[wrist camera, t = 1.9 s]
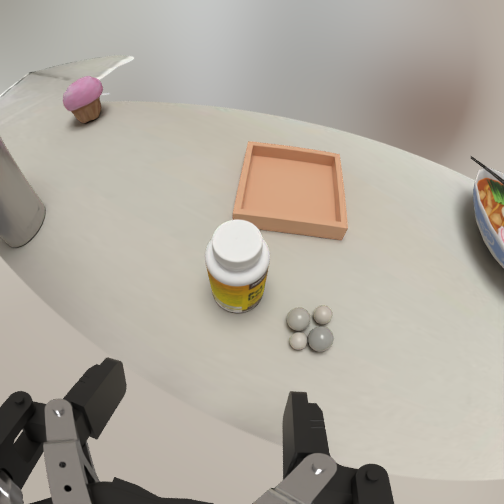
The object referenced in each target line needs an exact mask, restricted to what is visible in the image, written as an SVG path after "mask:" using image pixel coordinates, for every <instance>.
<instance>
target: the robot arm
mask: <svg viewBox="0 0 504 504" xmlns="http://www.w3.org/2000/svg"><path fill="white" fill-rule="evenodd" d="M44 216H45V206H44V204H43V203H42V201H41V200H40V199H39V197H38V196H37V194H36V193H35V191H34V190H33V188H32V187H31V185H30V184H29V182H28V181H27V179H26V178H25V176H24V175H23V173H22V172H21V170H20V169H19V167H18V166H17V164H16V162H15V161H14V159H13V158H12V156H11V154H10V153H9V151H8V149H7V148H6V146H5V144H4V142H3V141H2V139H1V137H0V237H1V238H2V239H3V240H4V241H5V242H6V243H7V244H8V245H9V246H11V247H19V246H22V245H24V244H25V243H27V242H28V241H29V240H30V239H31V238H32V237H33V236H34V235H35V234H36V232H37V231H38V230H39V228H40V226H41V224H42V222H43V220H44ZM125 392H126V381H125V375H124V369H123V364H122V362H121V361H118V360H115V359H111V358H106V359H105V360H104V361H103V362H102V363H101V364H100V365H97V364H96V365H94V366H93V367H91V368H89V369H88V370H87V371H86V372H85V374H84V375H83V376H82V377H81V378H80V379H79V381H78V382H77V383H76V384H75V385H74V386H73V387H72V389H71V390H70V391H69V392H68V393H67V395H66V396H65V397H64V398H63V399H54V400H51V401H50V402H48V403H47V404H43V403H38V402H33V401H32V398H31V396H30V395H29V394H28V393H26V392H23V391H18V392H15V393H13V394H11V395H10V396H9V398H8V399H7V400H6V401H5V402H4V403H3V404H2V406H1V407H0V504H24V502H23V494H22V492H21V489H22V487H23V485H24V484H25V482H26V480H27V479H28V477H29V475H30V473H31V472H32V470H33V468H34V467H35V465H36V463H37V461H38V460H39V458H40V457H41V455H42V453H43V452H44V457H45V464H46V471H47V477H48V482H49V488H50V492H51V498H47V499H44V500H41V501H37V502H34V503H30V504H213V503H207V502H201V501H196V500H192V499H178V498H161V497H158V496H156V495H154V494H152V493H150V492H149V491H147V490H145V489H143V488H141V487H140V486H138V485H135V484H132V483H129V482H127V481H124V480H121V479H118V478H116V477H114V480H113V482H100V481H99V479H98V477H97V475H96V472H95V469H94V465H93V462H92V458H91V455H90V451H89V447H88V443H87V439H88V437H89V436H90V437H92V438H95V439H98V437H99V436H100V434H101V432H102V431H103V429H104V427H105V426H106V424H107V422H108V421H109V419H110V417H111V416H112V414H113V413H114V411H115V409H116V408H117V406H118V405H119V403H120V401H121V400H122V398H123V397H124V395H125ZM21 430H23V432H22V433H21V435H20V436H19V437H18V439H17V440H16V442H15V443H14V440H15V438H16V437H17V435H18V434H19V433H20V431H21ZM252 504H394V501H393V496H392V491H391V486H390V483H389V477H388V473H387V471H386V470H385V469H384V468H383V467H381V466H379V465H376V464H366V465H364V466H362V467H360V468H359V469H354V468H349V467H344V466H341V465H339V464H337V463H336V462H335V460H334V459H333V458H332V457H331V456H330V453H329V448H328V442H327V436H326V430H325V424H324V418H323V413H322V410H321V409H320V408H319V406H318V405H317V403H308V398H307V393H306V392H293V391H290V393H289V396H288V400H287V404H286V408H285V411H284V416H283V481H282V482H281V483H280V484H279V485H277V486H276V487H275V488H271V489H269V490H268V491H267V492H265V493H264V494H263V495H262V496H261V497H260V498H258V499H257V500H256V501H255V502H254V503H252Z"/></svg>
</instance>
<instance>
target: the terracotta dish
mask: <svg viewBox="0 0 504 504" xmlns="http://www.w3.org/2000/svg"><path fill="white" fill-rule="evenodd" d="M233 220H245V221H248V222H250V223H252V224H254V225H255V226H256V227H257V228H258V229H260V230H268V231H276V232H284V233H292V234H300V235H307V236H315V237H322V238H330V239H337V240H342V238H343V237H344V235H345V233H346V231H347V229H348V225H347V213H346V203H345V193H344V184H343V176H342V168H341V161H340V154H335V153H330V152H324V151H318V150H312V149H305V148H299V147H291V146H284V145H276V144H268V143H258V142H248V145H247V149H246V154H245V159H244V163H243V168H242V172H241V177H240V182H239V186H238V191H237V196H236V201H235V205H234V210H233Z"/></svg>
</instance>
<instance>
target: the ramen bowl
mask: <svg viewBox="0 0 504 504" xmlns="http://www.w3.org/2000/svg"><path fill="white" fill-rule="evenodd" d="M472 158H473V157H471V159H472ZM472 160H474V161H475V160H476V159H475V158H473V159H472ZM475 162H476V163H478V164H479V163H480V162H479V161H477V160H476V161H475ZM479 165H480V166H482V165H483V164H482V163H480V164H479ZM483 166H484V167H483ZM483 166H482V167H483V169H480V170H479V171H478V173H477V176H476V179H475V184H474V189H473V202H474V210H475V217H476V222H477V225H478V228H479V230H480V233H481V235H482V238H483V241H484V243H485V244H486V246H487V248H488V249H489V251H490V252H491V254H492V256H493V257H494V258H495V259H496V261H497V262H498V263H499V264H500V265H501V266H502V267H503V268H504V174H503V173H501V172H500V171H497V170H494V169H492V168H488V167H486V166H485V165H483Z"/></svg>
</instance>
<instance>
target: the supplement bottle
mask: <svg viewBox="0 0 504 504" xmlns="http://www.w3.org/2000/svg"><path fill="white" fill-rule="evenodd" d="M269 261H270V252H269V248H268V246H267V244H266V242H265V240H264V239H263V238H262V235H261V232H260V231H259V229H258V228H257V227H256V226H255V225H254V224H252V223H250V222H248V221H245V220H230V221H227V222H225V223H223V224H221V225H220V226H219V227H218V228H217V229H216V230H215V232H214V234H213V237H212V239H211V240H210V242H209V243H208V245H207V248H206V251H205V262H206V267H207V271H208V276H209V280H210V284H211V289H212V293H213V296H214V299H215V301H216V302H217V303H218V304H219V305H220V306H221V307H222V308H223V309H225V310H227V311H230V312H235V313H240V312H246V311H249V310H251V309H252V308H254V307H255V306H256V305H257V304H258V303H259V301H260V300H261V298H262V295H263V292H264V287H265V282H266V277H267V272H268V267H269Z"/></svg>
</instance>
